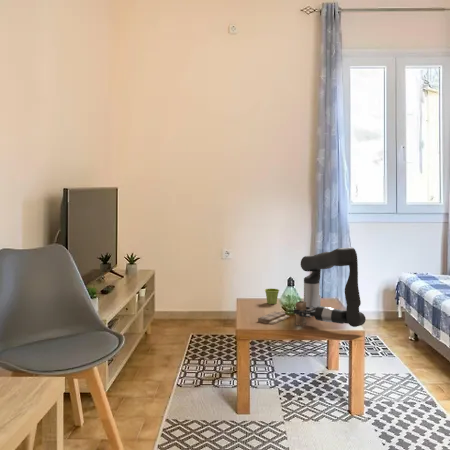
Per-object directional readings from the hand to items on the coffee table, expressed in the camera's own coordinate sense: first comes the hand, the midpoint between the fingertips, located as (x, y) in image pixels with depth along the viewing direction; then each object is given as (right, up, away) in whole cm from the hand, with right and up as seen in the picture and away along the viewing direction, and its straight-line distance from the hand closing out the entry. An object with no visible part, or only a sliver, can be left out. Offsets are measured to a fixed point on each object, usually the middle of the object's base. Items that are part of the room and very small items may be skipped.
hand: (297, 309), depth 255 cm
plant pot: (-9, -5, +49) cm, 50 cm away
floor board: (-12, -7, +10) cm, 17 cm away
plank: (+2, -8, -1) cm, 8 cm away
